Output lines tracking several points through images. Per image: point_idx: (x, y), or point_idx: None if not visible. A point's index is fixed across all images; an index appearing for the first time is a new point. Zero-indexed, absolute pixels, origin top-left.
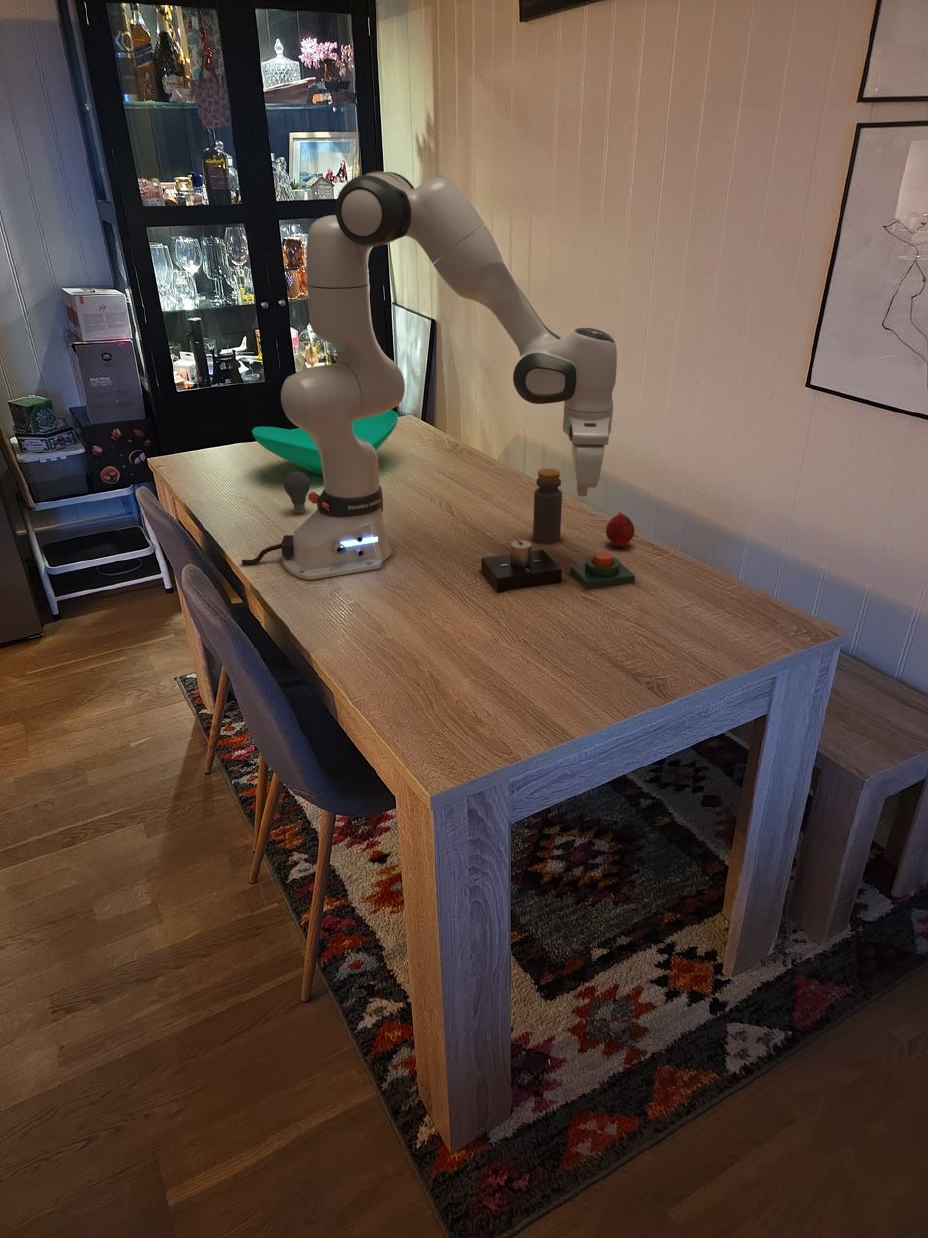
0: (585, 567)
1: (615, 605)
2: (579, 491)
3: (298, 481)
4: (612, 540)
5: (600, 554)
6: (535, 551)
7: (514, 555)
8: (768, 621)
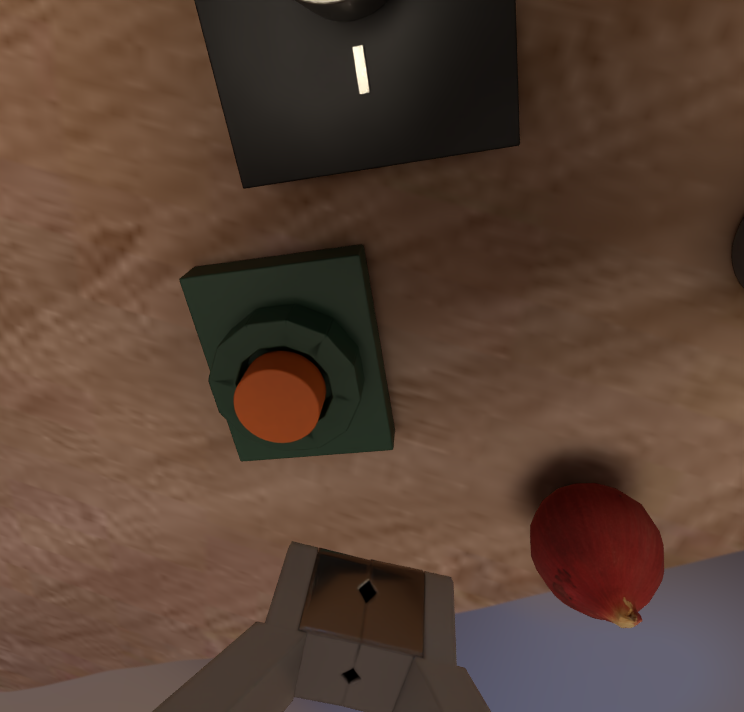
0: (288, 309)
1: (73, 332)
2: (277, 585)
3: None
4: (559, 491)
5: (286, 399)
6: (505, 92)
7: None
8: (30, 633)
